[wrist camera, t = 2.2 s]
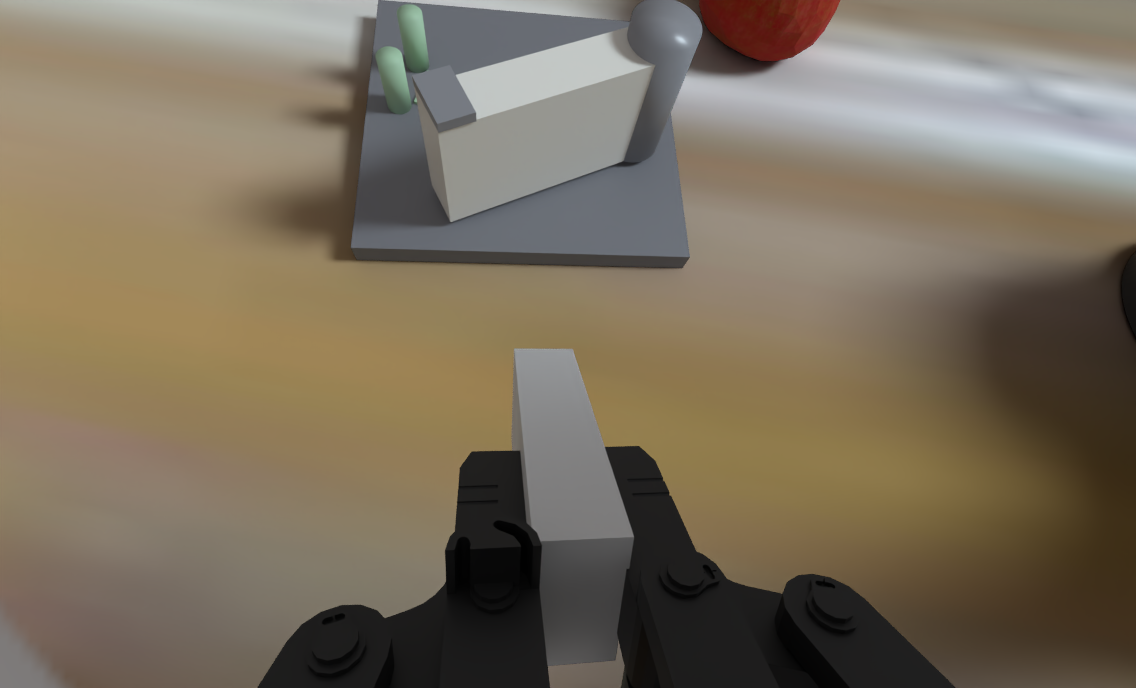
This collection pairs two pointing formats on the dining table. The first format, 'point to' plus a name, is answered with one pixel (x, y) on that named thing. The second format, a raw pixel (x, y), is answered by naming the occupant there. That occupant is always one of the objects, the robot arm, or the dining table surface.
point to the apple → (767, 25)
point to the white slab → (554, 110)
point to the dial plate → (522, 226)
